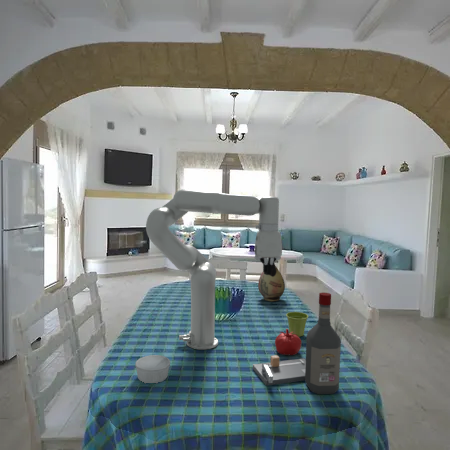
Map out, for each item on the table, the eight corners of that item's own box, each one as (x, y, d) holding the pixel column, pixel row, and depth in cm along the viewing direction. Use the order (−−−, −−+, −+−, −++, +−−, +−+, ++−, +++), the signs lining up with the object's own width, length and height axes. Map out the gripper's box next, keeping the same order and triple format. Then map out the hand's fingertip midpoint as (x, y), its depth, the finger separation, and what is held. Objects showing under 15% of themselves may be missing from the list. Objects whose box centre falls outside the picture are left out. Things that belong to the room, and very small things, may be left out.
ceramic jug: (258, 295, 226) (259, 246, 224) (284, 296, 224) (285, 247, 222) (256, 303, 210) (258, 250, 207) (284, 304, 207) (286, 251, 205)
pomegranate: (298, 360, 138) (299, 336, 137) (272, 355, 142) (272, 331, 141) (302, 349, 147) (303, 326, 146) (277, 345, 151) (278, 322, 150)
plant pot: (307, 339, 158) (308, 319, 157) (285, 337, 159) (285, 317, 159) (307, 331, 167) (308, 312, 166) (286, 329, 169) (286, 311, 168)
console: (266, 385, 119) (266, 379, 119) (252, 368, 130) (252, 362, 130) (322, 377, 124) (322, 371, 124) (304, 362, 136) (304, 356, 136)
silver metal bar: (261, 369, 125) (261, 363, 125) (268, 369, 126) (268, 362, 126) (267, 383, 116) (267, 376, 116) (274, 382, 117) (274, 376, 116)
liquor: (341, 394, 114) (345, 297, 112) (311, 395, 114) (315, 298, 111) (330, 379, 123) (334, 290, 121) (303, 380, 123) (306, 290, 120)
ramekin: (172, 383, 119) (172, 367, 119) (136, 388, 116) (136, 371, 116) (167, 368, 130) (167, 353, 129) (134, 371, 127) (134, 356, 126)
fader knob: (272, 366, 128) (272, 357, 128) (270, 364, 130) (270, 355, 130) (279, 366, 129) (279, 357, 128) (276, 363, 130) (277, 354, 130)
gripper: (254, 229, 141) (252, 277, 142) (290, 228, 145) (288, 275, 147) (247, 227, 148) (246, 273, 149) (281, 227, 152) (280, 271, 154)
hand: (267, 274), depth 148 cm, fingers closed
